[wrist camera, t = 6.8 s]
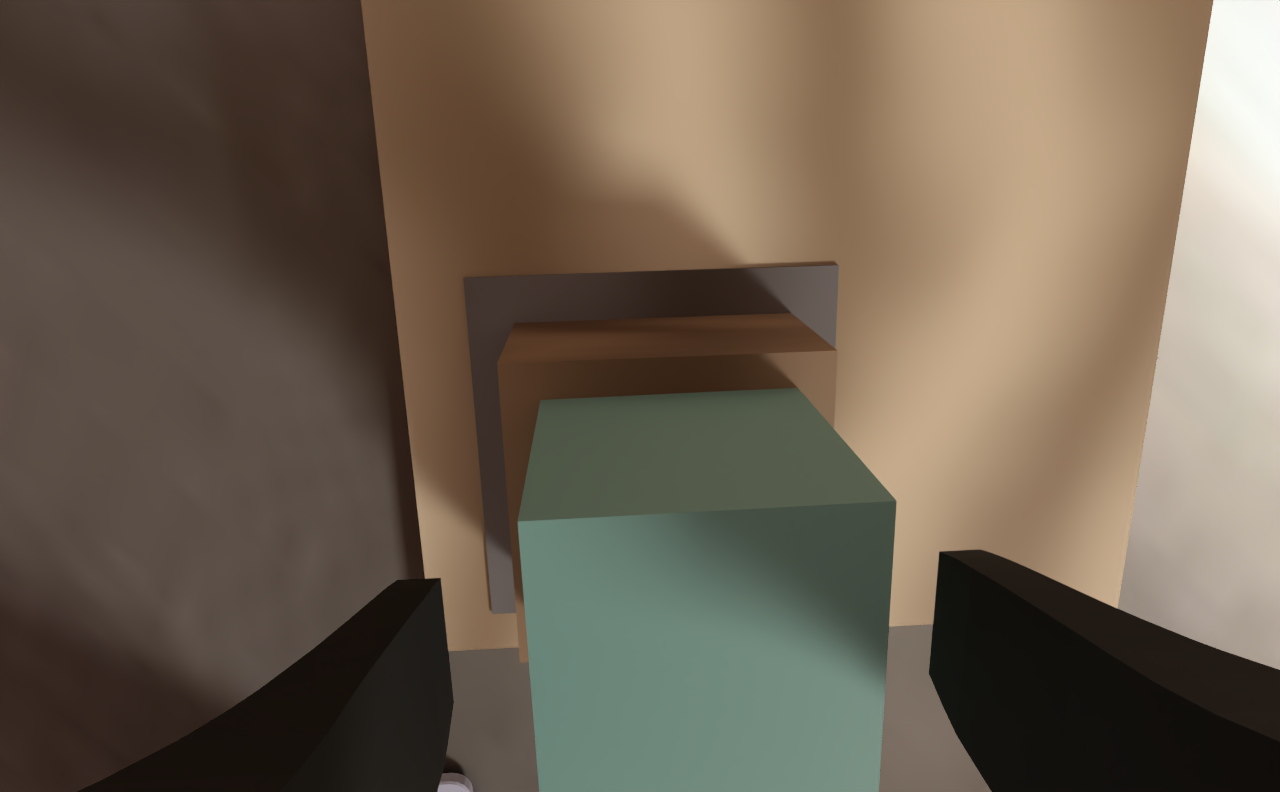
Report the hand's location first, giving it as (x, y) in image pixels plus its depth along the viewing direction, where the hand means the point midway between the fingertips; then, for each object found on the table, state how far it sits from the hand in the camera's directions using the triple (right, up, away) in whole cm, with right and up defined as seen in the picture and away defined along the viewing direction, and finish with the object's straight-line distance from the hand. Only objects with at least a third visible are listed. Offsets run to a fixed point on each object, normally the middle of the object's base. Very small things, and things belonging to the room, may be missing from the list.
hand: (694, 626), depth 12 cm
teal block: (0, +1, +4) cm, 4 cm away
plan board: (+2, +5, +7) cm, 9 cm away
